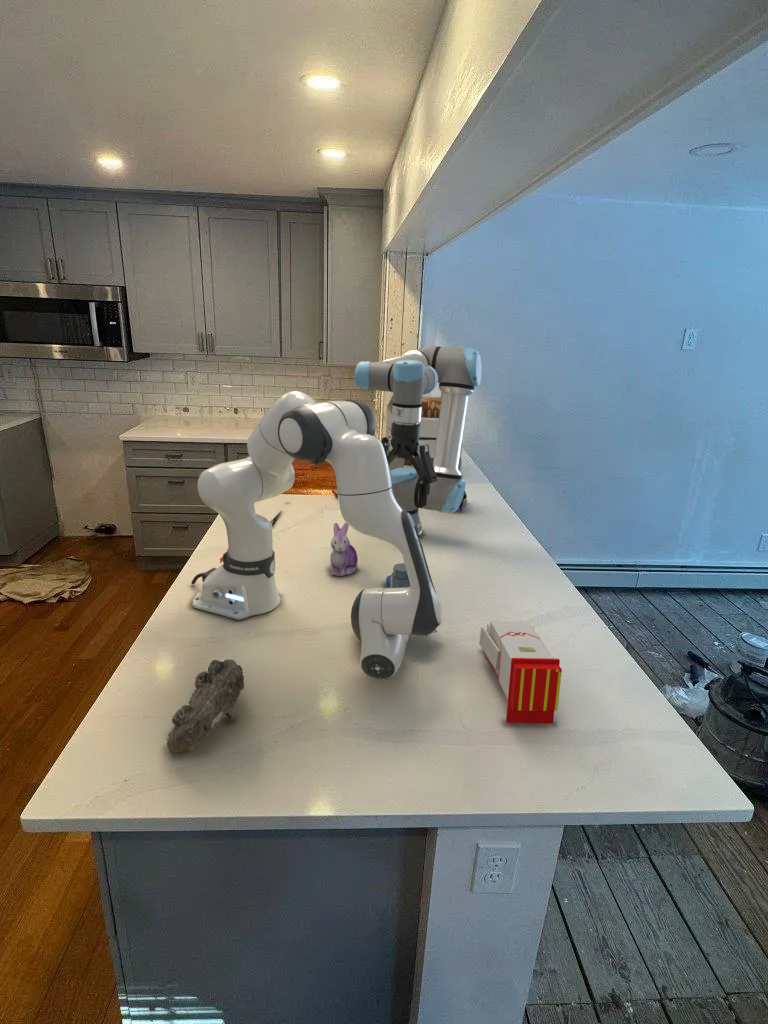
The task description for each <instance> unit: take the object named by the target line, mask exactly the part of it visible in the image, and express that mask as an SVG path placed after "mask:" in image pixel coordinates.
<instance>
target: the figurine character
mask: <svg viewBox="0 0 768 1024" xmlns="http://www.w3.org/2000/svg"><path fill="white" fill-rule="evenodd" d="M467 495H468V494H467V493H466V491H465V492H464V495H463V499H462V501H461V504H460V506H459V508H458V509H457V510H460V512H463V509H464V508H465V509H466V508H467V506H468V499H467V497H468V496H467Z"/></svg>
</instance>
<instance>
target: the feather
mask: <svg viewBox="0 0 768 1024" xmlns="http://www.w3.org/2000/svg"><path fill="white" fill-rule="evenodd" d="M281 512H282V510H280V512H279V513H277V514H276V516H275V517H273V519H272V520H271V521H269V522H270V523H271V525H272V527H274V525H275V523H276V521H277V520H278V518H279V516H280V514H281Z"/></svg>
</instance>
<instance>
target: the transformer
mask: <svg viewBox="0 0 768 1024" xmlns="http://www.w3.org/2000/svg"><path fill="white" fill-rule="evenodd" d="M440 393H441V394H440V396H422V410H421V421H420V422H419V424H420V437H419V440H418V443H419V445H426V444H428V445H429V454H430V457H431V460H432V464H433V458H434V451H435V444H436V437H437V429H438V422H439V415H440V407H441V400H442V392H441V391H440ZM392 403H393V395H391V398H390V400H389V402H388V404H387V405H386V413H385V414H386V415H385V423H386V428H385V437H387V436H390V437H391V439H392V436H391V424H392V423H393V422H394V421H393V420H392V406H393V405H392ZM464 431H465V430H463V433H464ZM463 438H464V436H463V437H462V439H463ZM463 442H464V441H463V440H462V444H461V450H460V457H459V464H458V470H459V471H460V473H461V472H462V461H463V460H462V453H463ZM392 449H393V448H392V446H391V445H390V446H389V449H388V451H387V453H386V457H387V456H388V454H389V452H390V451H391V450H392ZM418 451H419V450H418ZM418 451H417V452H418ZM418 454H419V456H420V453H419V452H418ZM413 457H414V456H413ZM420 460H421V457H420ZM421 462H422V460H421ZM405 466H406V467H414V466H413V464H412V463H411V462H410V461H409V460H408V459H404V458H402V457H400V458H399V457H396V458H395V459H394V460H393V461H392V462H391V463H390V464H389V470H390V471H391V470H393V469H397V468H403V467H405ZM461 474H462V473H461Z"/></svg>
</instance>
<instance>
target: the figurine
mask: <svg viewBox="0 0 768 1024" xmlns="http://www.w3.org/2000/svg"><path fill="white" fill-rule="evenodd" d="M349 527H350V526H349V525H348V524H347V523H346V522H345V523H343V525H342V527H341V528H340V526H339V524H338V522H334V523H333V537H332V538H331V541H330V547H331V549H332V551H331V553H330V557H329V559H330V568H329V570H330V574H331V575H333V576H337V577H340V576H341V577H344V576H346V575H351V574H353V573H354V572H356V571H357V567H358V562H359V561H358V553H357V551H356V549H355V547H354V546H353V545H352V544H351V541H350V539H349V537H348V531H349Z"/></svg>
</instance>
